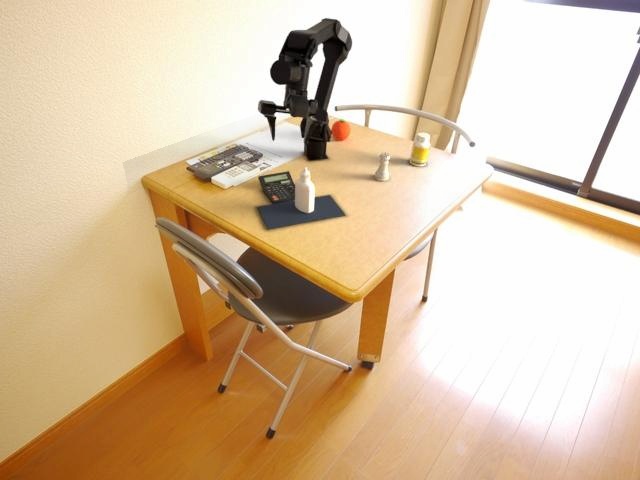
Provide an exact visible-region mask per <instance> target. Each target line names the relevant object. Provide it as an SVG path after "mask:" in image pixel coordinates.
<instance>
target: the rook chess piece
mask: <svg viewBox="0 0 640 480" xmlns="http://www.w3.org/2000/svg"><path fill="white" fill-rule="evenodd" d="M379 159H380V160H379V161H378V162H379V166H378V168H377V169H376V171H375V172H374V178H375V180H377V181H379V182H386V181H388V180H389V179H390V172H389V170H388V165H389V163H390V162H389V160H390V159H391V156H390V153H389V152H381V153H380V155H379Z"/></svg>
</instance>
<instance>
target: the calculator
mask: <svg viewBox="0 0 640 480" xmlns="http://www.w3.org/2000/svg"><path fill="white" fill-rule="evenodd" d="M257 178H258V181H259V184H260V187H261V190H262V192H263V193H264V195H265V197H266V198H267V199H268V201H269V202H270V204H276V203H283V202H289V201H295V182H294V180H293V177H292V175H291V173H290V170H287V171H282V172H275V173H269V174H264V175H258V177H257Z"/></svg>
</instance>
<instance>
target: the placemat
mask: <svg viewBox="0 0 640 480" xmlns="http://www.w3.org/2000/svg"><path fill="white" fill-rule="evenodd" d="M256 208H257V210H258V212H259V215H260V217H261V218H262V221H263V222H264V224H265V227H266V228H267V230H274V229H278V228H284V227H289V226H295V225H301V224H307V223H312V222H317V221H323V220H330V219H333V218H340V217H345V216H346V213H345V212H344V211H343V209H342V208H341V207H340V205H338V203H337V202H336V201H335V200H334V198H333V197H332V196H331V194H327V195H321V196H314V211H312V212H310V213H304V212H302V211H300V210H298V209H297V208H296V206H295V200H294V201H289V202H283V203H276V204H272V203H270V204H264V205H259V206H256Z"/></svg>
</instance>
